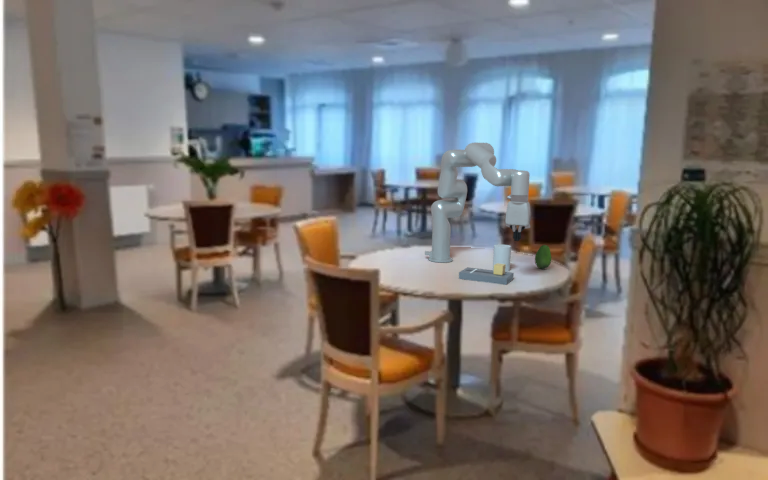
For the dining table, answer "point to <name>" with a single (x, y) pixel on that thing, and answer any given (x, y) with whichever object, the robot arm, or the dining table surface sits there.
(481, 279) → the board
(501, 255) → the light blue cylinder
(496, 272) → the fader knob
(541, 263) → the avocado
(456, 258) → the dining table surface
